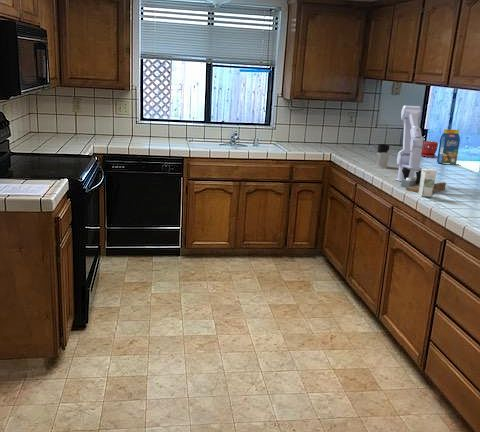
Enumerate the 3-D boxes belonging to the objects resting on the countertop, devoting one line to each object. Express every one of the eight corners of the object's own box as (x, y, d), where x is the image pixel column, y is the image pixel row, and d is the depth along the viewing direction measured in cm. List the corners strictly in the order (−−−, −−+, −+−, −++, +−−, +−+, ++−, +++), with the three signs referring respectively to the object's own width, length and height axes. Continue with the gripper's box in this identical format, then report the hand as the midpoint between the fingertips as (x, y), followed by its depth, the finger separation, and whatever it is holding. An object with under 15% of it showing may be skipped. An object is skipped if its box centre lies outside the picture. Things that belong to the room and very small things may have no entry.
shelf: (429, 186, 297) (430, 179, 296) (444, 189, 290) (446, 182, 289) (406, 189, 284) (407, 182, 283) (421, 193, 277) (422, 186, 276)
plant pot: (438, 157, 410) (441, 142, 406) (431, 158, 400) (434, 143, 397) (423, 154, 418) (425, 140, 415) (415, 156, 409) (417, 141, 406)
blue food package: (456, 164, 378) (461, 130, 371) (441, 164, 376) (446, 129, 369) (451, 163, 384) (456, 129, 377) (436, 162, 382) (441, 128, 375)
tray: (413, 184, 300) (414, 176, 298) (421, 186, 296) (422, 177, 295) (401, 186, 293) (402, 177, 291) (408, 188, 289) (409, 179, 288)
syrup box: (428, 194, 275) (432, 168, 271) (432, 197, 269) (436, 170, 265) (417, 194, 275) (421, 167, 271) (421, 197, 269) (425, 169, 265)
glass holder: (388, 168, 348) (390, 146, 344) (366, 166, 351) (369, 144, 347) (387, 166, 356) (390, 144, 352) (366, 164, 359) (368, 143, 355)
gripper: (399, 157, 293) (396, 180, 297) (422, 161, 282) (418, 186, 286) (407, 156, 297) (404, 179, 301) (429, 160, 286) (425, 184, 290)
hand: (411, 182), depth 294 cm, fingers open, 7 cm apart
